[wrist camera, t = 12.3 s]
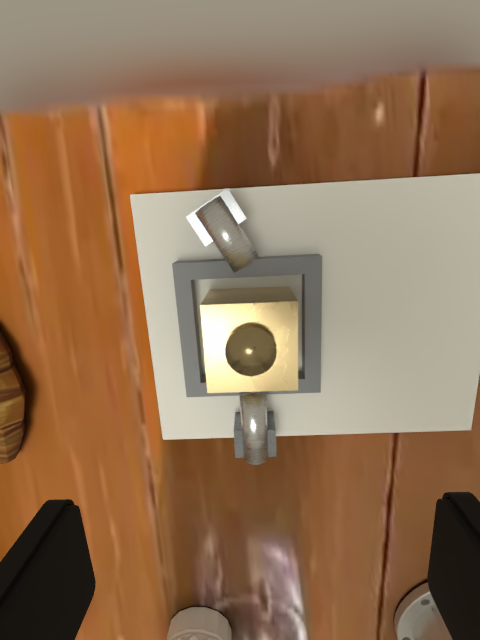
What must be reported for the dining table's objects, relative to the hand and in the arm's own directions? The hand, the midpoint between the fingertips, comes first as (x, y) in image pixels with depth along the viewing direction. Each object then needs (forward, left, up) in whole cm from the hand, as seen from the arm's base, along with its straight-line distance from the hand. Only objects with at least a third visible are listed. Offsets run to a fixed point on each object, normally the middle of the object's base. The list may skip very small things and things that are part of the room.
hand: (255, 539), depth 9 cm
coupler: (0, 0, -18) cm, 18 cm away
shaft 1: (+6, -4, -19) cm, 21 cm away
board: (-3, -4, -19) cm, 20 cm away
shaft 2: (-5, +5, -19) cm, 21 cm away
